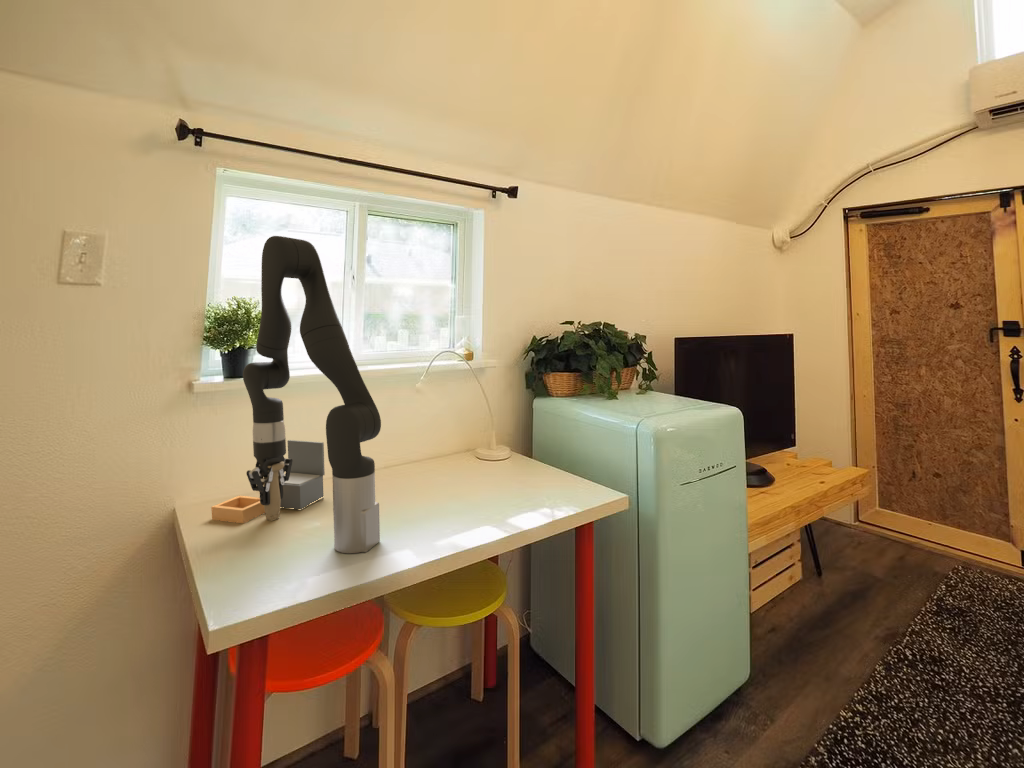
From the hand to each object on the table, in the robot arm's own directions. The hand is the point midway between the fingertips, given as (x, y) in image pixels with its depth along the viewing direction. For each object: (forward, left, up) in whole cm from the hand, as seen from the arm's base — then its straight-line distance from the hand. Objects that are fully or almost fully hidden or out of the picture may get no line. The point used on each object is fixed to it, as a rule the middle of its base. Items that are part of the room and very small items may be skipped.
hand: (272, 501), depth 119 cm
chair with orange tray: (+6, -7, -5) cm, 10 cm away
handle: (0, 0, -5) cm, 5 cm away
